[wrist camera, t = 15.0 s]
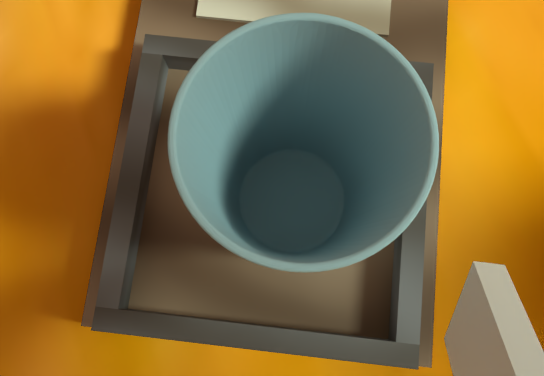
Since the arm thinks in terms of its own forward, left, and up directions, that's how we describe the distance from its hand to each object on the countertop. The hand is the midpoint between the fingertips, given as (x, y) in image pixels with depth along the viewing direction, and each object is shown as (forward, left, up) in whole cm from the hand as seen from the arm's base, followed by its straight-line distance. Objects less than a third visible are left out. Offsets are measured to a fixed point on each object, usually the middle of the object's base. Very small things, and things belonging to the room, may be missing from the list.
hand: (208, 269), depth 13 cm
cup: (-4, -1, -11) cm, 12 cm away
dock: (-6, -4, -12) cm, 14 cm away
